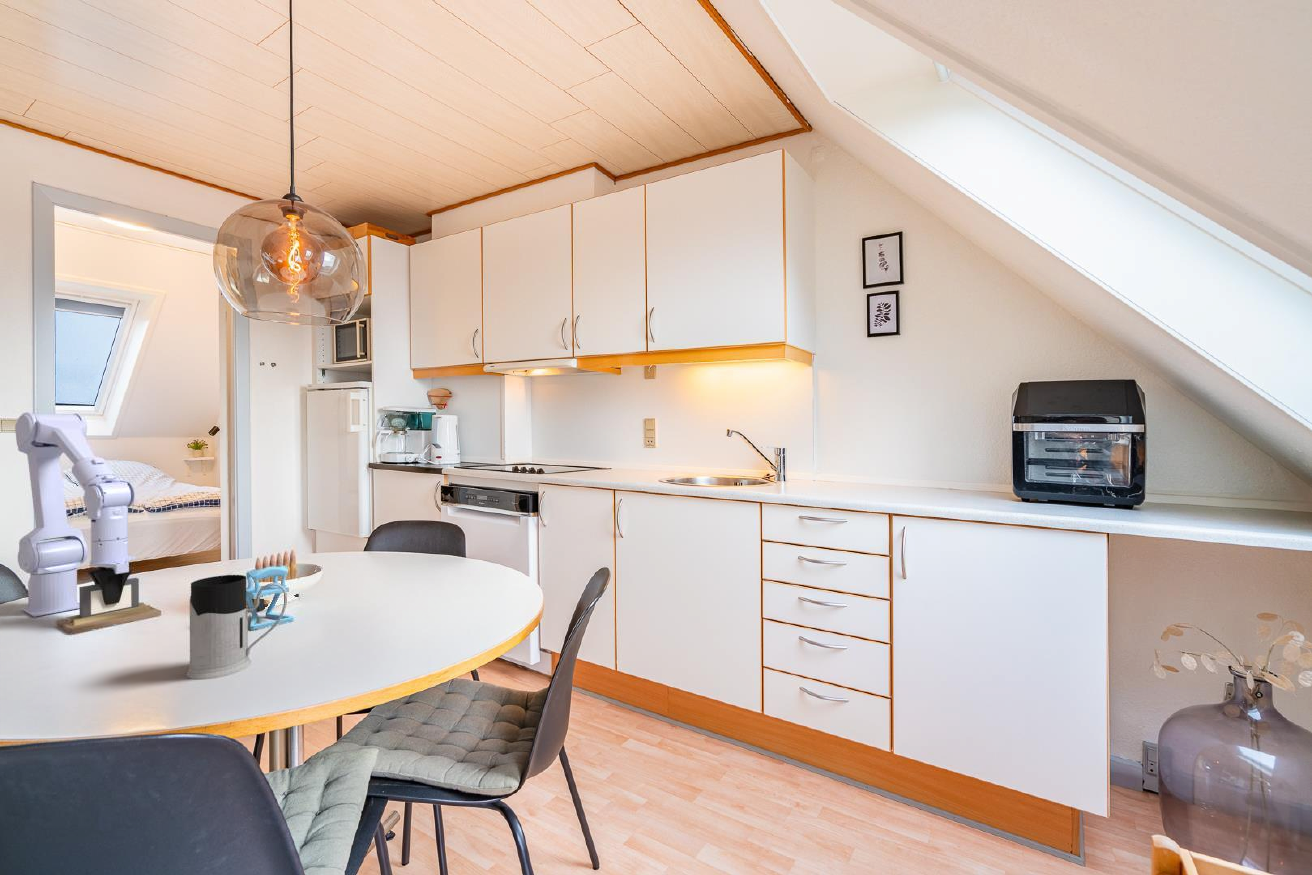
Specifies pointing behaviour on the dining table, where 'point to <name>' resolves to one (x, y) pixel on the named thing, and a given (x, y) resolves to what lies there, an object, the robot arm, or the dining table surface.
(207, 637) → the glass holder
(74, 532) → the robot arm
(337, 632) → the dining table surface
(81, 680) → the dining table surface
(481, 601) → the dining table surface
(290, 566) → the ammunition clip
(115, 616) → the board
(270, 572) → the chair
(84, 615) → the grey upright slab
